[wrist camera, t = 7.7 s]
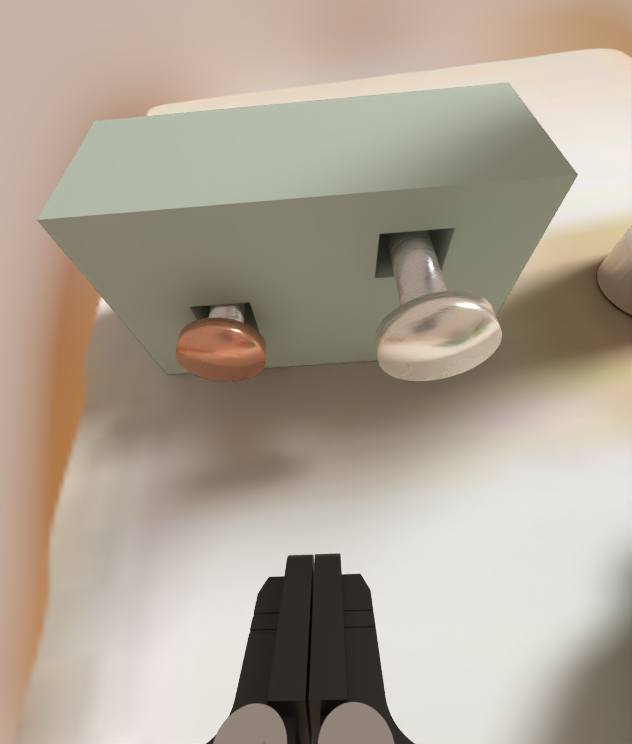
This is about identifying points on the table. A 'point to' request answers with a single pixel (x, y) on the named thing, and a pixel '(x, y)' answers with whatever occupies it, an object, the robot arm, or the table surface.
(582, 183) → the table surface
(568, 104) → the table surface
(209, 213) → the console
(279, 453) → the table surface
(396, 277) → the plunger cream
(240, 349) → the plunger terracotta
